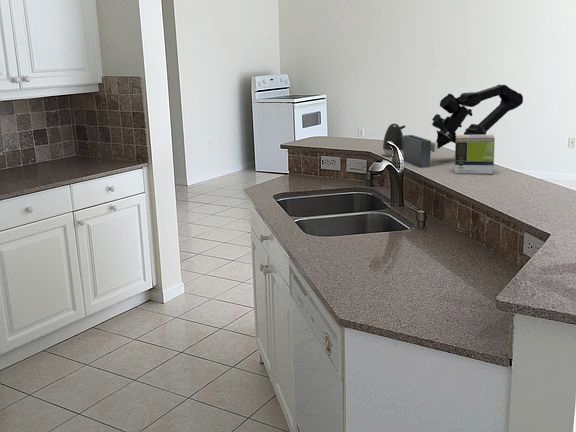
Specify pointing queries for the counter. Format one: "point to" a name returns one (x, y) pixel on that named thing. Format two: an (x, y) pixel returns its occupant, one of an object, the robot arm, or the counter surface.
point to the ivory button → (434, 146)
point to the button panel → (417, 150)
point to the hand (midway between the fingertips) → (435, 148)
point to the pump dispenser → (393, 138)
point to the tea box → (474, 154)
